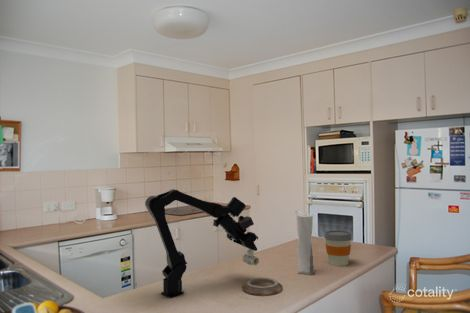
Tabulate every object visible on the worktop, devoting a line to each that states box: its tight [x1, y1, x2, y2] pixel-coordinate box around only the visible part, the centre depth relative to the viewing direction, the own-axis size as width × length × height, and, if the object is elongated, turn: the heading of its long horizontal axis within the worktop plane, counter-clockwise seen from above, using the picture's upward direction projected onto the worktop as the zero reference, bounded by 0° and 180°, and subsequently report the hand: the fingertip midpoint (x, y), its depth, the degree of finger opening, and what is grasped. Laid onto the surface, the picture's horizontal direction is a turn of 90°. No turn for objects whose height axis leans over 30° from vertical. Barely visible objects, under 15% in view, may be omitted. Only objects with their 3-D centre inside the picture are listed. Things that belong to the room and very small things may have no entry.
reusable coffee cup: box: [324, 229, 352, 267], centre depth 186 cm, size 13×13×15 cm
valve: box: [242, 236, 260, 267], centre depth 163 cm, size 7×7×12 cm
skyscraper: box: [295, 210, 317, 276], centre depth 173 cm, size 8×8×28 cm
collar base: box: [241, 276, 283, 297], centre depth 152 cm, size 16×16×2 cm
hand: (253, 248), depth 164 cm, fingers closed on valve, 5 cm apart
